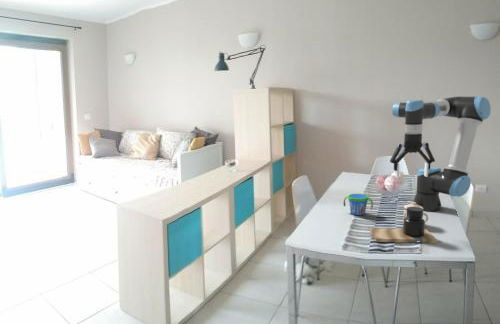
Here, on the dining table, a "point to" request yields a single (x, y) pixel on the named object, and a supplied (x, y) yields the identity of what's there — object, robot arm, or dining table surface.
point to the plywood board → (400, 236)
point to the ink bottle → (414, 222)
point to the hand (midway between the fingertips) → (411, 176)
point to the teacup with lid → (413, 206)
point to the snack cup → (358, 203)
